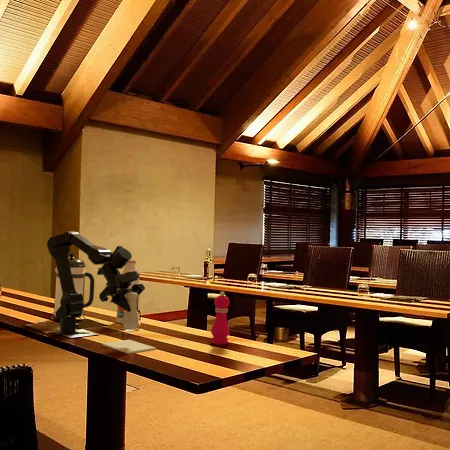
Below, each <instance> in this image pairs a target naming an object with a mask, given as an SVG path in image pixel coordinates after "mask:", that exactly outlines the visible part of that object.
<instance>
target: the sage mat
mask: <svg viewBox="0 0 450 450" xmlns="http://www.w3.org/2000/svg"><path fill="white" fill-rule="evenodd" d="M101 345H102V346H104V347H107V348H110V349H113V350H115V351H118V352H122V353H125V354H128V355H129V354H133V353H134V354H135V353H142V352H147V351H148V352H149V351H154V350H157V347H154V346H152V345H148V344H145V343H141V342H138V341H135V340H133V339H124V340H117V341H116V340H115V341H108V342H102V343H101Z"/></svg>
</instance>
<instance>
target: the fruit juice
mask: <svg viewBox="0 0 450 450" xmlns="http://www.w3.org/2000/svg"><path fill="white" fill-rule="evenodd" d="M136 262H137V261H136V260H135V259H134V260H133V259H130V260H129V261H128V263H127V264H126V265H125V266H124V267H123V268H122V272H121V274H124V273H126V272H132V271H133V270H136V271H137V269H136ZM134 284H140V277H139V278H138V280H137V281H136V280H135V281H133V282H131V285H130V286H129V288H131V287H132V286H133V285H134ZM125 298H126V296H125ZM139 298H140V295H139V296H138V299H137V305H138V306H139ZM123 311H125V309H123V308H122V307H120V306H118V305H116V323H117V324H122V321H123ZM122 325H123V324H122Z"/></svg>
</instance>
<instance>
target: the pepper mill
mask: <svg viewBox="0 0 450 450" xmlns="http://www.w3.org/2000/svg"><path fill="white" fill-rule="evenodd" d="M213 301H214V303H213V304H214V306H215V308H214V309H215V310H214V312H215V318H214V322H213V324H212V326H211V329H210V330H211V331H210V333H211V335H212V338H211V343H212V344H214V345H227V344H228V343H229V338H228V336H229V335H230V332H231V331H230V326H229V324H228V319H227V313H228V312H229V308H228V307H230V303H231V302H230V299H229V297H228V296H226V294H225V291H220V292H219V295H217V296H216V297H215V298H214V300H213ZM226 343H227V344H226Z"/></svg>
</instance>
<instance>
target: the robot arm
mask: <svg viewBox="0 0 450 450" xmlns="http://www.w3.org/2000/svg"><path fill="white" fill-rule="evenodd" d="M46 245H47V249H48V252H49V254H50V255H51V257H52V258H53V259H54V260H55V266H56V265H57V270H58V275H59V279H60V284H61V288H62V293H63V294H62V297H61V300H60V304H61V306H60V308H59V309H58V310H57V311H56V312H55V314H54V316H55V315H56V316H55V317H56V318H55V319H60V323H59V324H60V325H59V330H56V333H57V334H60V335H63V336H67V335H76V334H78V335H79V334H80V333H79V331H76V329H77V328H76V327H77V318H76V317H80V318H82V316H81V314H82V311H83V312H84V309H85V308H84V304H85V302H84V301H85V300H84V301H83V297H82V294H78V293H77V292H76V290H75V286H74V282H73V278H72V273H71V269H70V264H69V260H68V258H69V254H70V253H71V252H70V251H71V247H72V246H74V247H76V248H77V249H79V250H80V251H82V252H83V253H84V254H86V255H87V258H88V260H89V261H90V262H91V263H92V265H96V266H97V265H98V266H99V265H101V267H98V269H97V272H96V273H97V274H96V275H97V276H102V275H103V276H104V279H105V280H106V283H105V287H104V288H103V290H102V291H101V292H100V293H99V300H100V301H101V302H102V303H103V302H104V303H105V302H108V301H109V297H110V296H111V300H110V303H113V304H114V305H116V306H117V305H118V306H120V307H122V308H123V309H125V310H126V311H128V312H130V311H131V308H130V306H129V304H128V302H127V299H126V298H125V296H126V294H127V293H129V292H135V293H137V294H138V296H139V297H140V295H141V294H142V293H143V292H144V291H145V290H146V287H145V285H144V284H143V283H139V284H134V285H133V286H132V287H131V288H129V286H130V285H131V282H133V281H135V280H136V281H137V280H138V278H139V279H140V273H139V272H138V270H137V269H136V270H133V271H132V272H126V273H124V274H122V272H120V270H121V269H122V270H123V269H124V267H125V265H126V264H127V263H128V261H129V260H132V257H133V255H132V253H131V251H129V250H128V249H126V248H124V247H123V246H122V245H117V246H116V247H115V249H114V250H113V251H111V250H110V249H108V248H105V247H102V246H99V245H96V244H95V243H93V242H91V241H90V240H89V239H87V238H86V237H84V236H83V235H81V234H80V233H79V232H77V231H74V230H73V231H71V230H70V231H66V232H64V233H61V234H58V235H54V236H50V237H49V239H48V240H47V242H46ZM119 269H120V270H119ZM136 304H137V299H136ZM137 310H138V311H139V304H138V305H137Z"/></svg>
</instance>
